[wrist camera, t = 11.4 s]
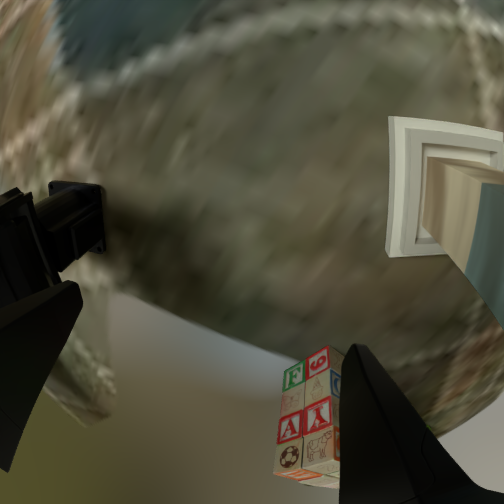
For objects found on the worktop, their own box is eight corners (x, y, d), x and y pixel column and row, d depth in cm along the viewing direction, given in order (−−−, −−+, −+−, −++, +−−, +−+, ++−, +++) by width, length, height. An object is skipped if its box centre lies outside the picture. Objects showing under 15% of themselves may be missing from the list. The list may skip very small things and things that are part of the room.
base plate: (384, 249, 20) (393, 264, 18) (388, 116, 15) (399, 117, 13) (481, 244, 18) (493, 257, 16) (494, 130, 14) (510, 134, 12)
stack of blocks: (414, 406, 30) (427, 479, 19) (378, 424, 33) (385, 494, 22) (327, 343, 25) (333, 462, 15) (281, 370, 28) (271, 476, 17)
